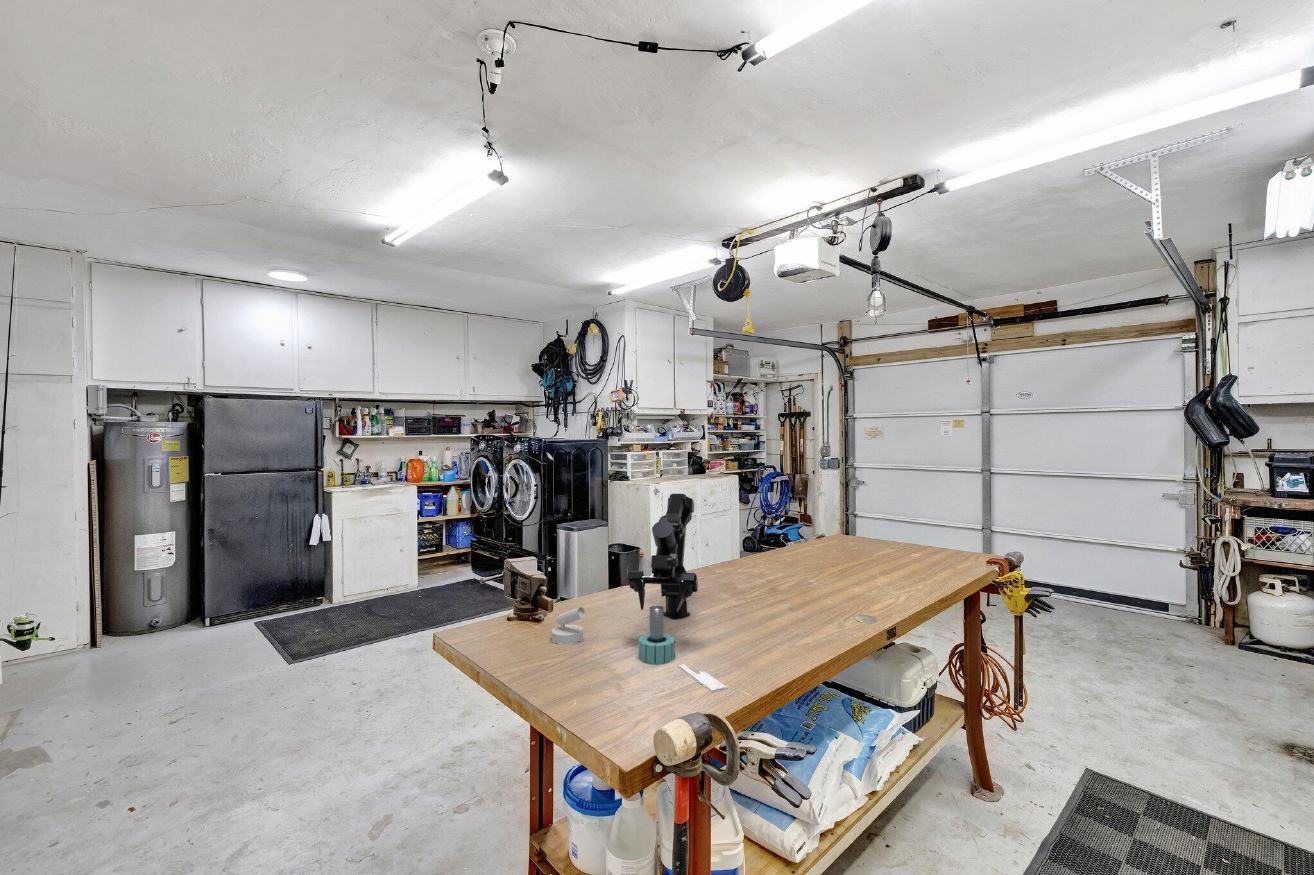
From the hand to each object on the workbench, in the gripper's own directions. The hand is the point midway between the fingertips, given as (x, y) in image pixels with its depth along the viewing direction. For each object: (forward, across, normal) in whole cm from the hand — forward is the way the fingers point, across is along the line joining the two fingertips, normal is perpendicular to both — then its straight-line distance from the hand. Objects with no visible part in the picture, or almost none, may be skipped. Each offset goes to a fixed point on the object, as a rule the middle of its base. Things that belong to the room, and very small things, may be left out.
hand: (659, 610), depth 144 cm
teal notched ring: (+10, 0, +5) cm, 11 cm away
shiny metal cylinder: (+10, 0, +5) cm, 11 cm away
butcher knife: (+17, +13, -2) cm, 22 cm away
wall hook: (+5, -26, +11) cm, 29 cm away
